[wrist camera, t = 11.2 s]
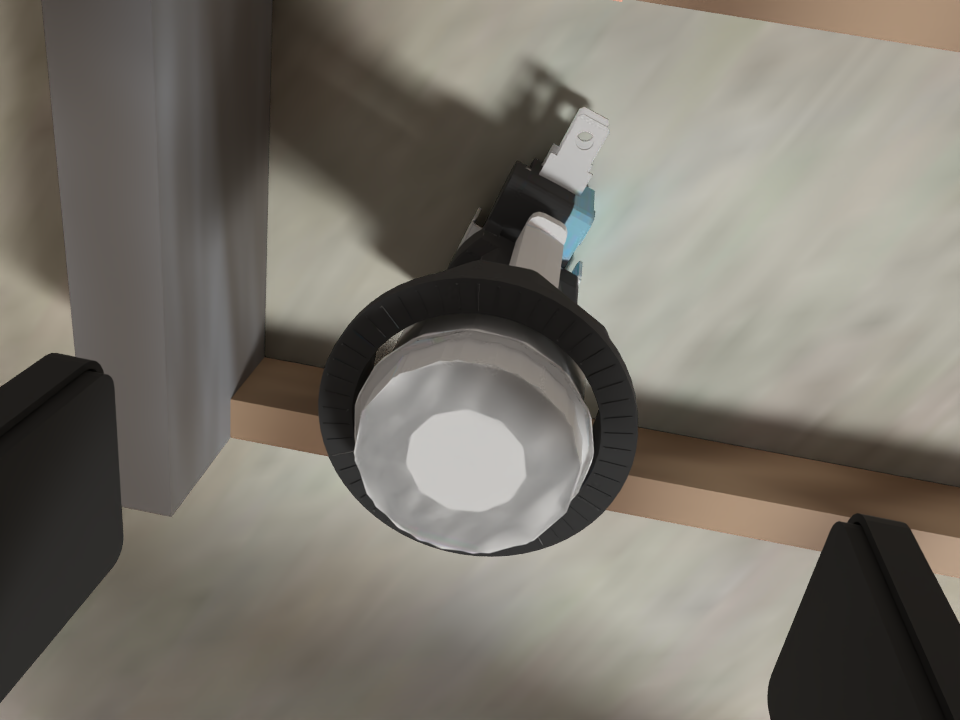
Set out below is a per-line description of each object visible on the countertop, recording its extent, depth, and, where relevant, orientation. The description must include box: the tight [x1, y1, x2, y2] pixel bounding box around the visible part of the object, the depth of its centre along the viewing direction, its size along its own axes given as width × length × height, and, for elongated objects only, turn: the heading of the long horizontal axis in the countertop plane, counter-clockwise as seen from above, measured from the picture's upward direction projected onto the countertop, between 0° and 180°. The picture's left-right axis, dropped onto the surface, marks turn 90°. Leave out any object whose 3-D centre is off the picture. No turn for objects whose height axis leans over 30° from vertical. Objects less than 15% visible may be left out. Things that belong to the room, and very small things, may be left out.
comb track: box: [41, 0, 960, 578], centre depth 19 cm, size 24×14×6 cm, turn 82°
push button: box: [318, 106, 638, 557], centre depth 17 cm, size 7×5×10 cm
